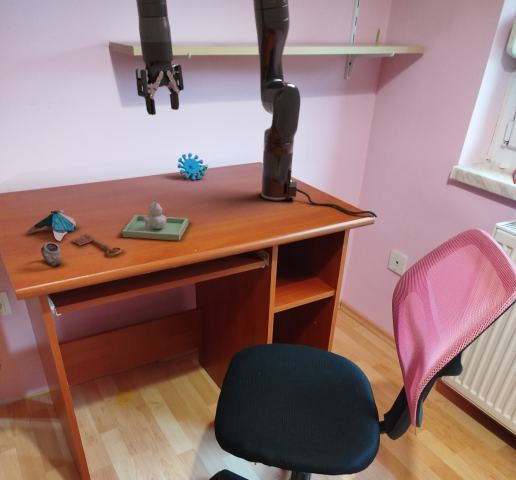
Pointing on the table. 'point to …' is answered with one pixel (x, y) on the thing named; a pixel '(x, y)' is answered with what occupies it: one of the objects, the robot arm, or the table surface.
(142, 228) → the tray
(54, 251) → the grey round container
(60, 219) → the decorative butterfly
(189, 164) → the blue virus model
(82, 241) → the key
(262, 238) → the table surface
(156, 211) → the white plastic figurine
